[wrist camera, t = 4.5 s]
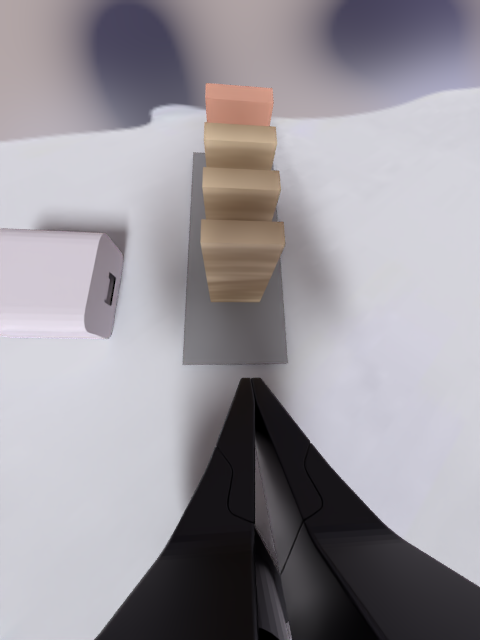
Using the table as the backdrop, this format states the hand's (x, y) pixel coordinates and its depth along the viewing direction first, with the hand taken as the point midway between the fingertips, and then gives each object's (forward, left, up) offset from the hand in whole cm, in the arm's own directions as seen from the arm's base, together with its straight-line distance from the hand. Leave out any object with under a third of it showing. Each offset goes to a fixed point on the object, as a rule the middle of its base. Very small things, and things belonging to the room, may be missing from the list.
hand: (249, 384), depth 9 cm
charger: (+17, +12, -12) cm, 25 cm away
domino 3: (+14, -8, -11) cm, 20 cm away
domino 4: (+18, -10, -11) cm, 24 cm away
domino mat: (+13, -7, -12) cm, 19 cm away
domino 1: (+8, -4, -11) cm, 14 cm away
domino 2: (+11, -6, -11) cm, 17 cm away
